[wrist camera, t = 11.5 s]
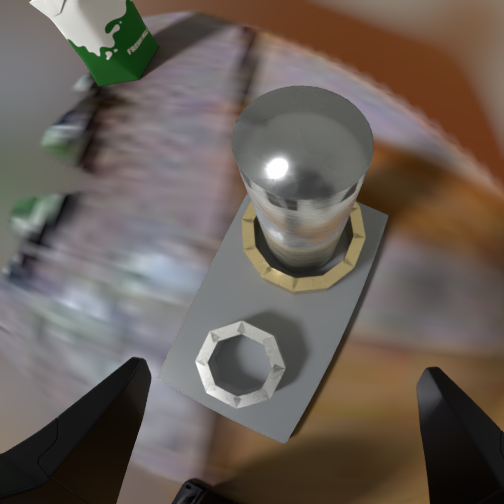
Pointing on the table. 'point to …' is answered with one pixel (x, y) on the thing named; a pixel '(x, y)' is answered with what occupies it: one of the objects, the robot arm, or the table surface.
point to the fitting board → (268, 328)
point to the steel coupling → (302, 169)
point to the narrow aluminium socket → (212, 374)
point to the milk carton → (104, 36)
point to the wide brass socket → (309, 283)
